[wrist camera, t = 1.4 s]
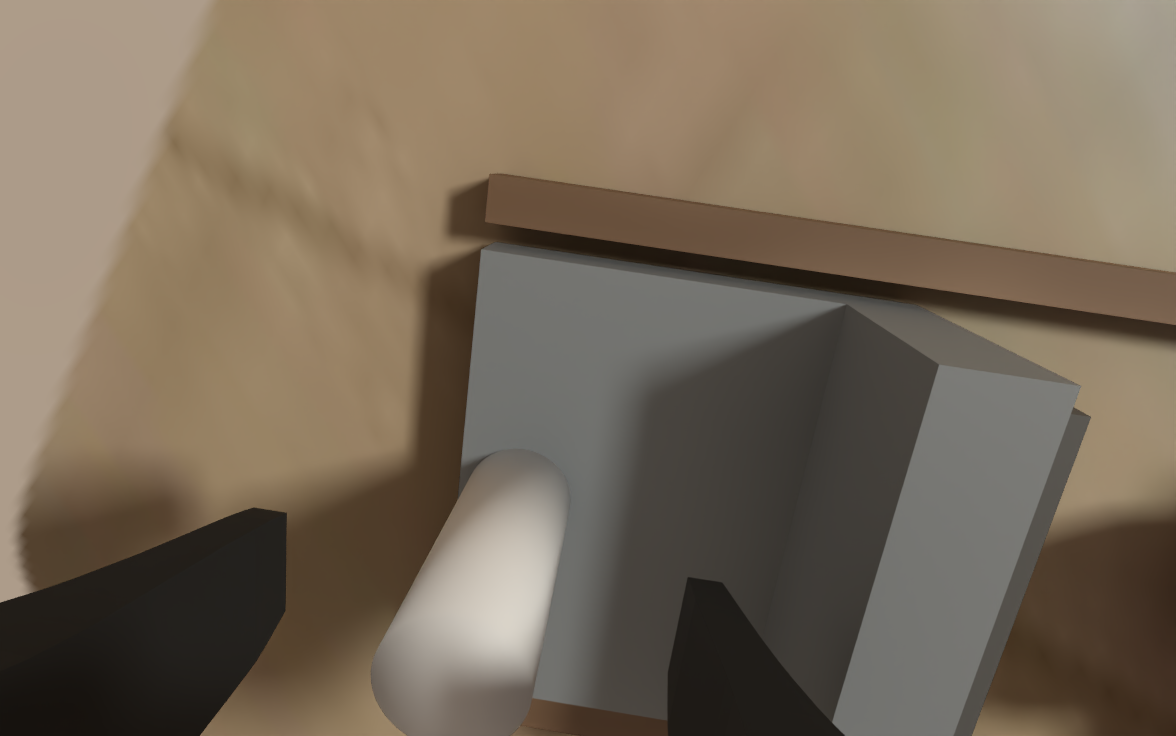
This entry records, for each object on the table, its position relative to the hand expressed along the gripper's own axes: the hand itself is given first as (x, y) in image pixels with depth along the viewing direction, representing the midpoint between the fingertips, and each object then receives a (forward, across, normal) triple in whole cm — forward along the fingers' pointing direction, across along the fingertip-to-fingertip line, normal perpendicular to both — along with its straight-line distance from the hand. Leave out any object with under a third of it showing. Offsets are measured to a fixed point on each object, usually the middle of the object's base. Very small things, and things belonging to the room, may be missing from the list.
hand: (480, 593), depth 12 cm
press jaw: (+6, -4, 0) cm, 7 cm away
